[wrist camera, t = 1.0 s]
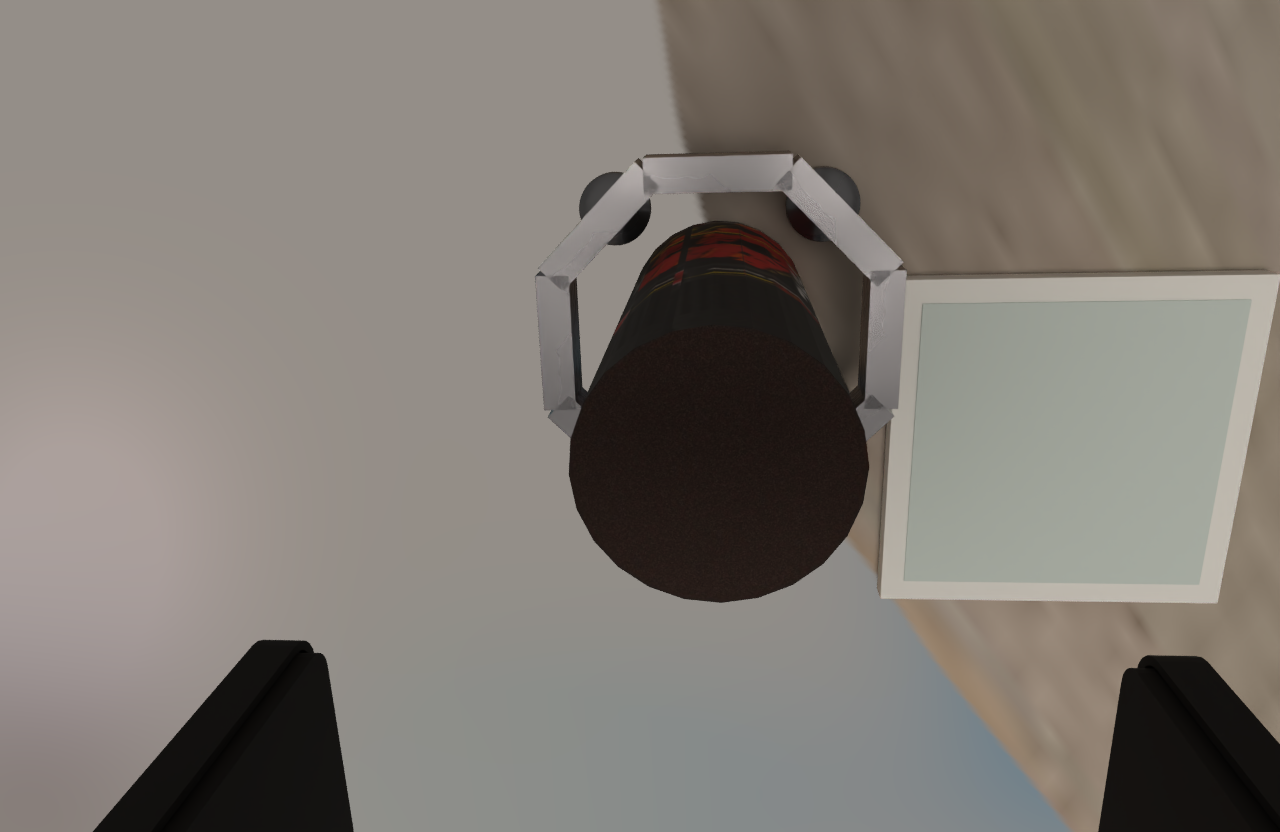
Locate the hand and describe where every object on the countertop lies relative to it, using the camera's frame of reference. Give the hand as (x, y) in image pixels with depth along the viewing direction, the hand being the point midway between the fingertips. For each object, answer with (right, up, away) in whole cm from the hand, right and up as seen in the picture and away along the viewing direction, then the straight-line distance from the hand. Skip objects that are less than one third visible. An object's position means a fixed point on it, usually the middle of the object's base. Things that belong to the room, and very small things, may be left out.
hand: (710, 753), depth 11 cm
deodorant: (+2, +8, +22) cm, 23 cm away
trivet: (+14, +3, +22) cm, 26 cm away
